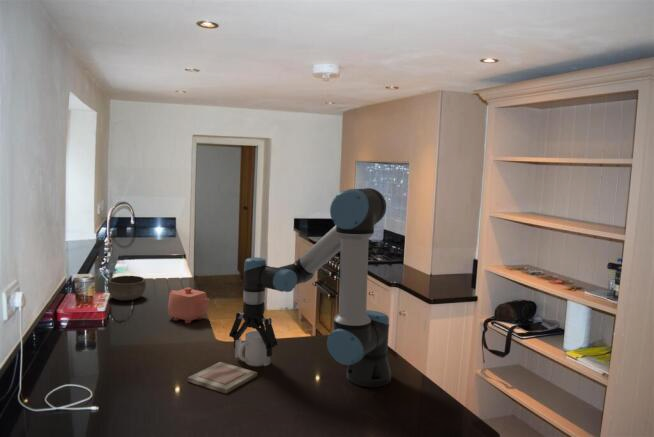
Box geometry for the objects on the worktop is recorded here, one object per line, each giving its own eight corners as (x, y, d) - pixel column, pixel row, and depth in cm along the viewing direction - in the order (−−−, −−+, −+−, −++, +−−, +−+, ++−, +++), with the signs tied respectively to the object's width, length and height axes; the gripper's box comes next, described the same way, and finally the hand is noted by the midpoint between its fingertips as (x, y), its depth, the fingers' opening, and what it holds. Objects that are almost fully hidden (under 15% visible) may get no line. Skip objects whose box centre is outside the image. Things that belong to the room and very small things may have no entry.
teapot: (217, 320, 236) (217, 289, 235) (197, 327, 225) (197, 295, 224) (180, 311, 247) (181, 282, 245) (160, 318, 236) (160, 287, 234)
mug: (245, 371, 181) (246, 342, 180) (231, 364, 187) (232, 335, 186) (272, 363, 190) (273, 335, 188) (258, 356, 195) (259, 329, 194)
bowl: (138, 304, 256) (138, 283, 255) (101, 302, 256) (101, 282, 255) (150, 295, 273) (150, 276, 272) (116, 293, 274) (116, 274, 272)
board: (257, 376, 178) (257, 371, 177) (226, 393, 164) (226, 388, 163) (220, 365, 185) (220, 361, 185) (187, 381, 171) (187, 376, 171)
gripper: (288, 305, 183) (286, 364, 186) (233, 294, 195) (232, 350, 197) (276, 310, 177) (274, 372, 179) (220, 298, 188) (218, 356, 191)
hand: (252, 360), depth 188 cm, fingers open, 12 cm apart
